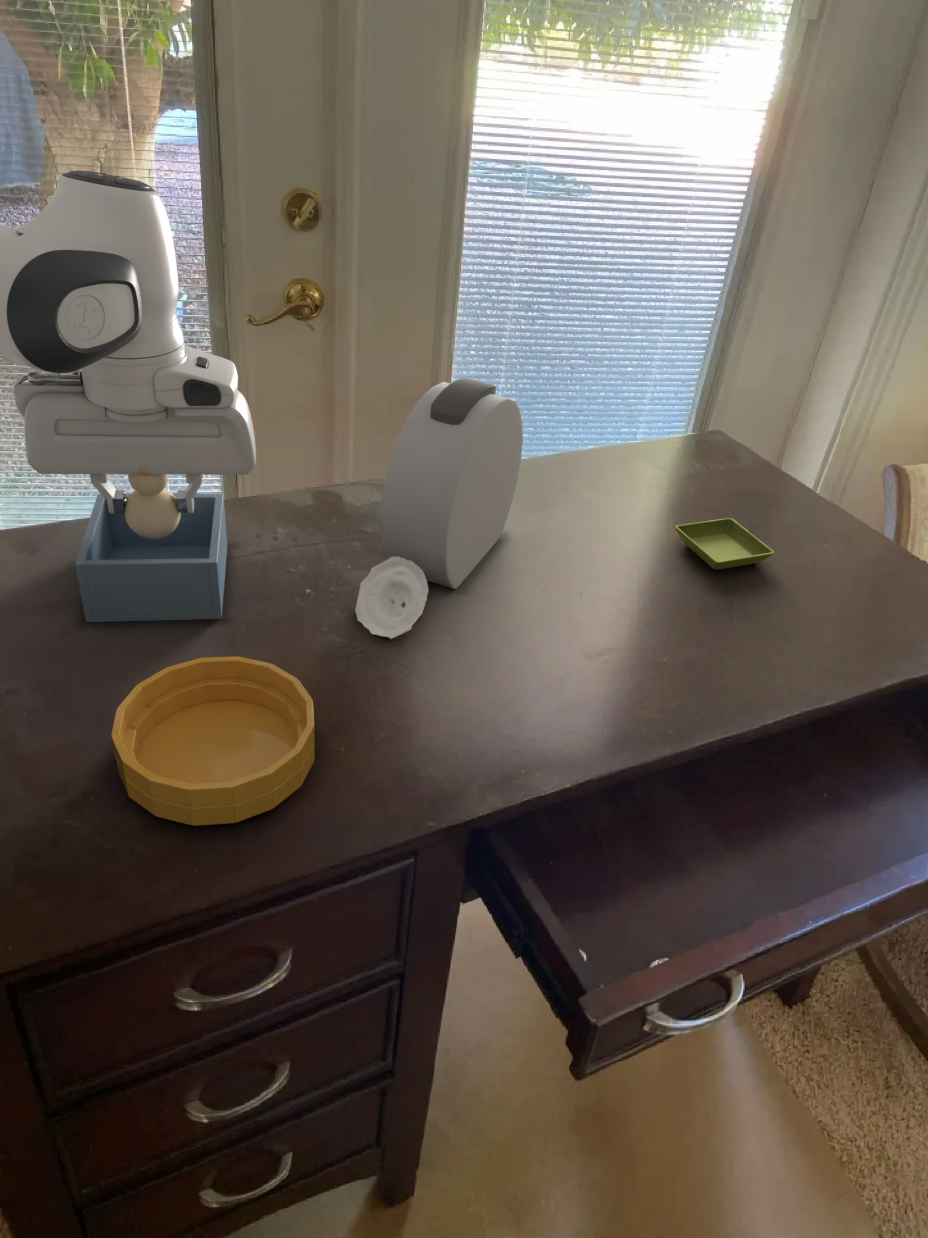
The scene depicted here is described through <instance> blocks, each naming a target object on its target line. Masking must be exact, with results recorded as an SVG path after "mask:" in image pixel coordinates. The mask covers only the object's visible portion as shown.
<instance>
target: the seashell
mask: <svg viewBox="0 0 928 1238" xmlns="http://www.w3.org/2000/svg"><path fill="white" fill-rule="evenodd" d="M428 594H429V585H428V581H427V580H426V577H425V575H424V572H423V570H422V569H420V567H418V566H417V565H416V564H415V563H414V562H412V561H411V560H406V559H405V558H403V559H402V558H401V557H393V556H392V557H391V558H389V559H388V560H386V559H385V560H384V561H382V562H381V563H379V564H376V565H375V566H373V567H371V568H370V572H369V573H368V574H367V576H365V577H364V579H363V580H362V581H360V584H359V590H358V595H357V598H356V599H357V600H356V604H355V608H354V612H355V615H356V619H357V622H359V623H361V624H362V627H364V628H366V629H367V630H368V631H369V633H370V634H372V635H376V636H379V637H383V638H384V637H386V638H389V639H390V640H392V639H394V638H396V637H398V636H401V635H403V634H405V633H407V632H409V631H411V630H413V625H414V624H415V623H416V622H417V621H418V619H419V618H420V617H421V616H422V615H423V614H424V612H423V611H425V606H426V602H427V600H428V597H427V596H428Z"/></svg>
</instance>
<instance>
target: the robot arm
mask: <svg viewBox="0 0 928 1238" xmlns="http://www.w3.org/2000/svg"><path fill="white" fill-rule="evenodd" d="M169 218H170V217H169V215H168V212H167V209H166V206H165V204H164V202H163V200H162V197H161V195H160V194H159V193H158V191H156V190H155V189H154V188H153V187H152V186H151V185H149V184H147V183H145V182H143V181H140V180H136V179H132V178H127V177H124V176H120V175H112V174H107V173H104V172H99V171H98V172H97V171H89V170H71V171H69V172H65V173H62V174H61V175H60V176H59V178H58V186H57V189H56V192H55V193H54V195H53V197H52V198H51V199H50V200H49V202H48V203H47V204H46V206H45V207H44V208H43V209H42V210H40V211H39V213H38V214H36V216H34V217H33V218H31V219H30V220H29V221H28V222H26V223H24V224H23V225H21V226H19V227H17V228H12V227H9V226H4V225H2V224H0V359H3V360H7V361H11V362H14V363H17V364H20V365H23V366H25V367H29V368H32V369H34V370H30V371H28V372H27V374H24V375H23V376H21V377H19V378H17V379H16V381H15V382H14V384H13V387H12V392H13V397H14V401H15V406H16V408H17V411H18V412H19V414H21V416H22V417H23V418H24V419H23V421H24V423H23V424H24V425H23V430H24V431H23V432H24V447H25V454H26V460H27V464H28V465H29V466H30V467H31V469H33V470H35V471H36V472H37V473H38V474H41V475H89V477H90V483H91V485H92V486H93V487H94V488H95V489H96V490H97V491H98V493H99V494H102V496H103V497H104V498H106V499H107V504H108V510H109V513H125V504H126V501H127V500H126V499H125V498H126V494H127V493H126V490H125V489H117V488H116V487H115V486H114V485H113V483H112V482H111V481H110V480H109V476H110V475H128V474H139V469H140V468H141V467H146V468H148V469H149V470H150V474H168V475H185V481H186V483H187V487H186V489H177V492H176V494H177V496H176V503H177V512H178V513H193V511H194V496H195V494H197V492H198V491H199V489H200V487H201V486H202V484H203V476H204V475H214V476H216V475H217V476H221V475H224V476H225V475H226V476H227V475H228V476H229V475H232V476H233V475H235V476H237V475H238V476H239V475H240V476H246V475H249V474H250V473H251V472H252V471H253V469H254V468H255V467H256V465H257V447H256V438H255V430H254V425H253V420H252V416H251V411H250V407H249V405H248V401H247V400H246V397H245V396H244V395H243V393H242V392H241V391H239V389H238V388H239V373H238V369H237V367H236V364H235V362H234V361H232V360H230V359H227V358H224V357H222V356H218V355H215V354H212V353H209V352H207V351H206V352H205V351H203V350H200V349H197V348H194V347H191V346H188V345H186V344H185V336H184V332H183V329H182V328H181V325H180V323H179V319H178V313H177V312H178V311H177V309H178V308H177V307H178V306H177V305H178V301H179V297H180V296H179V295H180V284H179V272H178V265H177V254H176V249H175V242H174V236H173V231H172V226H171V222H170V219H169ZM79 370H80V371H79Z"/></svg>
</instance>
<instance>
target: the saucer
mask: <svg viewBox="0 0 928 1238" xmlns="http://www.w3.org/2000/svg"><path fill="white" fill-rule="evenodd" d="M674 528H675V530H676V532H677V535H678V537H679V538H680V540H681V541H682V542H683V543H684V545H686V546H687V548H689V549H690V550H691V551H693V552H694V553H695V554H696V555H697V556H698V557H699V558H701V560H703V562H705V563H706V564H707V565H709V567H710V568H712V569H713V570H715V571H717V570H723V569H730V568H735V567H736V568H737V567H741V566H746V565H753V564H757V563H760V562H762V561H765V560H766V559H768V558H770V557H772V556H773V555H774V554H775V551H774V550H773V549H772V548H771V547H770V546H768V545H767V544H765V542H763V541H762V540H761V539H759V538H757V537H756V536H755V535H754V534H753V533H752V532H750V531H749V530H748V529H746V528H745V527H744V526H743V525H741V524H740V523H739V522H738V521H736V520H735V519H733V518H731V517H726V518H725V517H724V518H719V519H711V520H705V521H699V522H692V523H691V522H689V523H682V524H678V525H675V526H674Z"/></svg>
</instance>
